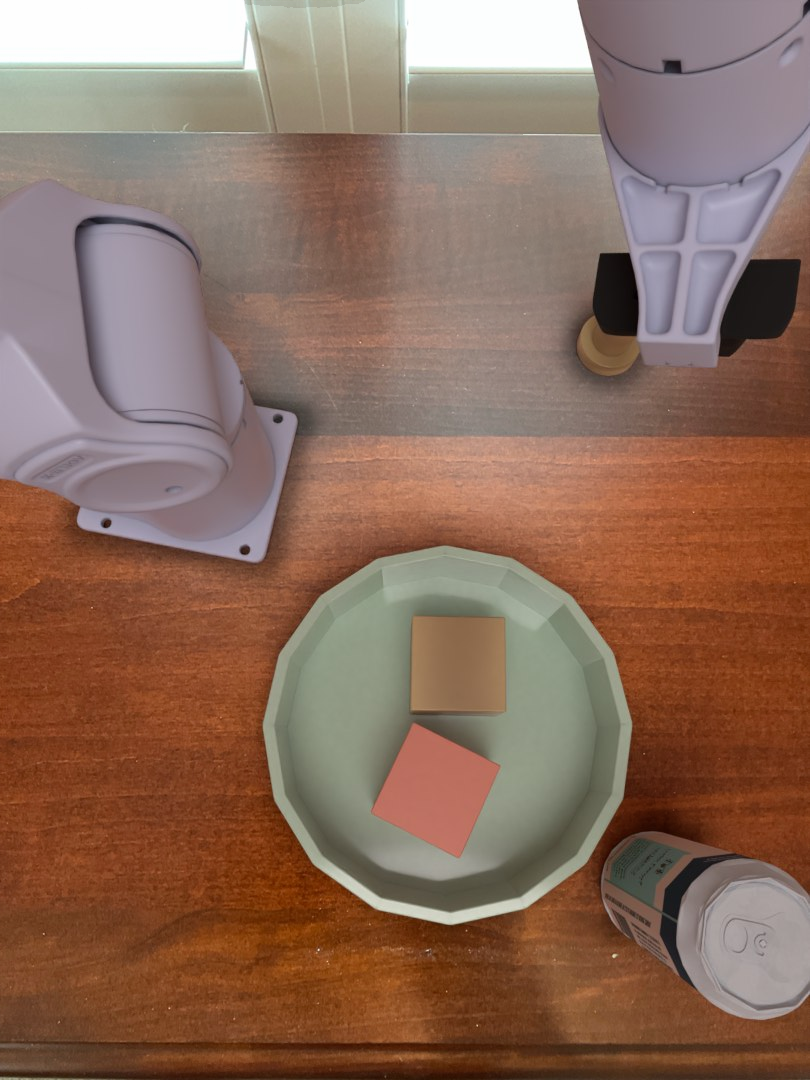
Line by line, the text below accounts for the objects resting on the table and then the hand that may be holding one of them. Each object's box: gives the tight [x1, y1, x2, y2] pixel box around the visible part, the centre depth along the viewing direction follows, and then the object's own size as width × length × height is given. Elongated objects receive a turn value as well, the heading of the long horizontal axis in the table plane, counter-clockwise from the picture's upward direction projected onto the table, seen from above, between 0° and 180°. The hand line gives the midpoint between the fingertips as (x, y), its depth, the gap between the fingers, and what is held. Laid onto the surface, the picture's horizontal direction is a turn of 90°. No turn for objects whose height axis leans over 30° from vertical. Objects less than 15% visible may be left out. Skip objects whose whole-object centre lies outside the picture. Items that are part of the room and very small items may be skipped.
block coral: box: [371, 722, 500, 858], centre depth 36 cm, size 4×4×4 cm
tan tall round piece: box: [576, 315, 640, 377], centre depth 40 cm, size 3×3×8 cm
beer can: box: [600, 830, 810, 1021], centre depth 32 cm, size 5×5×12 cm
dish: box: [261, 544, 633, 926], centre depth 37 cm, size 15×15×5 cm
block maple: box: [409, 615, 506, 717], centre depth 37 cm, size 4×4×4 cm
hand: (718, 248), depth 31 cm, fingers open, 7 cm apart
